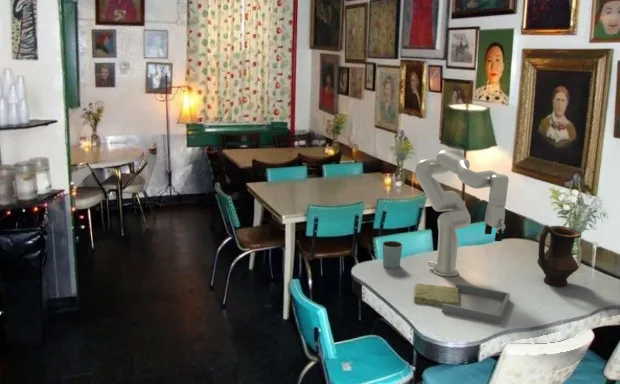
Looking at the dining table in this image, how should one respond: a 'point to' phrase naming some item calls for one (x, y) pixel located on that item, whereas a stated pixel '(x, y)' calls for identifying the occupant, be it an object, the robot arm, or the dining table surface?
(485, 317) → the box
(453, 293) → the decorative tile
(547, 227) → the jug
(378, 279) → the dining table surface
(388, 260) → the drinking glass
